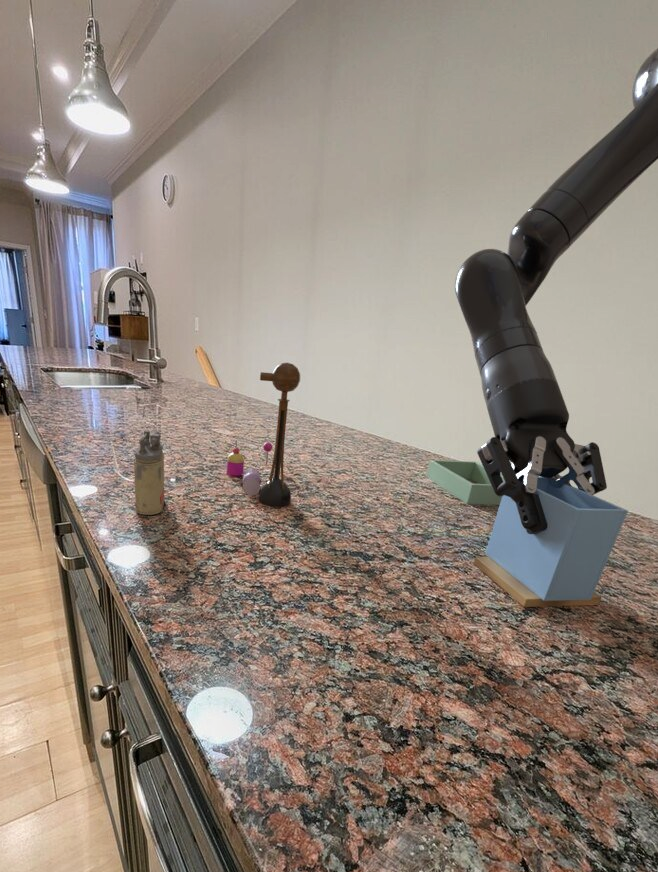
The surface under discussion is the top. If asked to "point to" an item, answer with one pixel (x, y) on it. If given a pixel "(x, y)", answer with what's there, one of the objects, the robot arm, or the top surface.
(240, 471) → the candy
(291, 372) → the wooden tabletop sculpture
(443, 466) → the bottom bin
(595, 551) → the top bin
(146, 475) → the beige upright cylinder
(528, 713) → the top surface
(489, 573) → the cork mat
